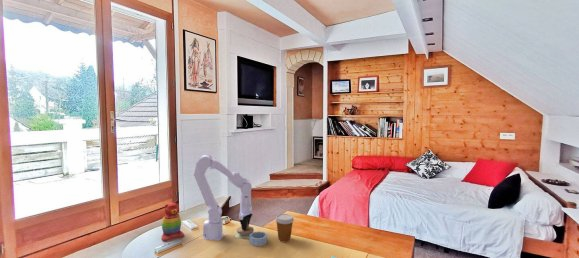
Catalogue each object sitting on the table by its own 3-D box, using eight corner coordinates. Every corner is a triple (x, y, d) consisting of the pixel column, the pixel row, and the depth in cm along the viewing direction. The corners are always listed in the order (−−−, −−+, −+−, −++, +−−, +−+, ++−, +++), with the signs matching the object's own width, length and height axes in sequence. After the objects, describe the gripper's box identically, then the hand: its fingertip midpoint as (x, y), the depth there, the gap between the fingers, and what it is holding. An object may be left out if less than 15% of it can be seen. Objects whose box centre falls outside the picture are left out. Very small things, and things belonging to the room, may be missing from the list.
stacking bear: (163, 242, 137) (163, 207, 136) (158, 235, 145) (158, 202, 144) (185, 237, 144) (185, 203, 143) (179, 230, 152) (179, 199, 151)
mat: (234, 238, 143) (234, 236, 143) (240, 231, 152) (240, 230, 152) (250, 239, 141) (250, 238, 141) (256, 232, 150) (256, 231, 150)
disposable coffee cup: (291, 244, 137) (291, 221, 136) (273, 242, 139) (273, 219, 138) (294, 236, 146) (295, 214, 146) (277, 234, 148) (278, 212, 148)
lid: (234, 233, 143) (234, 225, 143) (240, 226, 152) (240, 219, 152) (250, 235, 141) (250, 227, 141) (255, 228, 150) (256, 220, 150)
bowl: (247, 246, 135) (247, 238, 134) (252, 238, 143) (253, 230, 143) (264, 247, 133) (264, 239, 133) (269, 240, 141) (269, 232, 141)
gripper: (248, 208, 138) (247, 234, 139) (257, 199, 152) (256, 223, 153) (235, 207, 139) (234, 233, 140) (245, 198, 154) (244, 222, 154)
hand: (245, 228), depth 147 cm, fingers closed on lid, 3 cm apart
